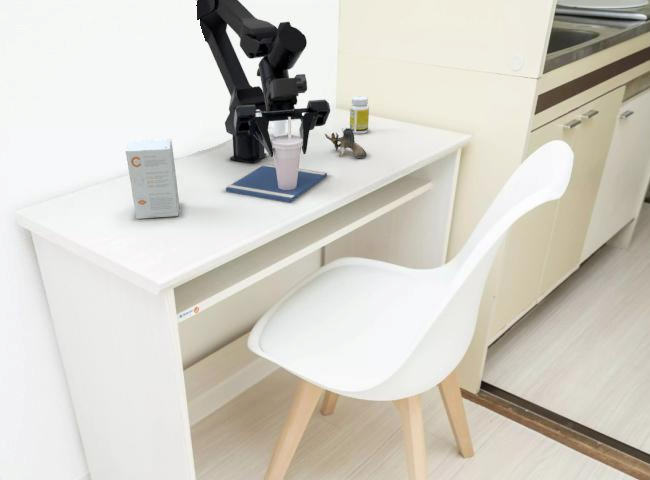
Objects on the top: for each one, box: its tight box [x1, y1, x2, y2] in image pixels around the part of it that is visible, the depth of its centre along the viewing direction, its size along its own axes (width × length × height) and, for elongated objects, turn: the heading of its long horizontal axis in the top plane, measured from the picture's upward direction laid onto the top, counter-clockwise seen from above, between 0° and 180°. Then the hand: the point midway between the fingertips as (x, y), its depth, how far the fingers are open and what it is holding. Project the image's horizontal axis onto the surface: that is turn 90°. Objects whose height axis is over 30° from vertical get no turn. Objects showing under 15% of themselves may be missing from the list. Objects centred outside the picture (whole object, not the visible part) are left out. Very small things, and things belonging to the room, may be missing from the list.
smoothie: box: [270, 117, 303, 190], centre depth 129 cm, size 6×6×14 cm
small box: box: [125, 138, 180, 220], centre depth 121 cm, size 8×6×13 cm
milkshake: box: [271, 120, 288, 138], centre depth 164 cm, size 4×5×10 cm
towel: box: [225, 163, 328, 204], centre depth 136 cm, size 15×17×1 cm
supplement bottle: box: [349, 95, 370, 135], centre depth 166 cm, size 5×5×8 cm
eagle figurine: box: [324, 127, 368, 160], centre depth 151 cm, size 8×7×9 cm
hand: (288, 154), depth 127 cm, fingers closed on smoothie, 6 cm apart
